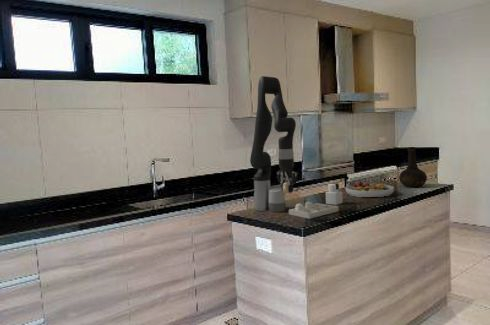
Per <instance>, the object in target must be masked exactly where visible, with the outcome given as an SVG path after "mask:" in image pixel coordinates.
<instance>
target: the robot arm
mask: <svg viewBox="0 0 490 325" xmlns="http://www.w3.org/2000/svg"><path fill="white" fill-rule="evenodd" d="M257 85H258V87H257V108H256V116H255V123H254V135H253V142H252V148H251V152H250V159H249V160H250V161H249V163H250V165H251V167H252V168H253V169H255V170H257V171H256V173H255V174H254V175H253V189H254V193H253V203H254V204H253V206H254V210H256V211H259V212H266V211H270V210H269V190H270V189H271V175H272V159H271V155H270V154H269V153H268V152H266V151H264V150H265V149H264V147H265V144H266V141H267V140H268V138H269V136H270V134H271V131H272V127H273V126H274V127H273V128H274V130H275V131H276V132H277V133H286V135H284V136H280V137H279V138H278V167H279V170H278V171H275V173H276V178H277V183H280V184H281V185H280V186H281V187H282V191H283V184H284V183H285V182H288V184H289V185H288V188H289V192H290V193H289V194H292V193H293V192H294V185H295V184H296V183H297V180H298V175H299V173H298V171H297V172H295V171H294V167H295V162H294V161H295V159H294V158H295V156H294V144H293V142H294V135H295V130H296V126H297V122H296V120H295V118H293V117H288V115H289V114H288V109H287V107H286V105H285V102H284V98H283V92H282V86H281V83H280V80H279V78H277V77H274V76H265V75H263V76H260V77H259V80H258V84H257ZM266 95H273V96H274V98H273V100H272V101H271V107H270V108H271V111H272V113H271V111H270V109H269V107H268V104H267V101H266ZM272 114H273V116H272ZM273 118H274V125H273ZM291 192H292V193H291Z"/></svg>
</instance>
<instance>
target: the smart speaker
mask: <svg viewBox="0 0 490 325" xmlns="http://www.w3.org/2000/svg"><path fill="white" fill-rule="evenodd" d="M286 206H287V205H286V198H285V193H283V191H282V187H281V185H277V186H273V187H270V190H269V210H268V211H270V212H271V213H281V212H284V211H286Z"/></svg>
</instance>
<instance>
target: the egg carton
mask: <svg viewBox="0 0 490 325" xmlns="http://www.w3.org/2000/svg"><path fill="white" fill-rule="evenodd" d="M312 204H313V208H311V209H307V208H305V205H303V206H304V210H302V211H296V210H295V207H294V208H289V209H288V215H291V216H295V217H301V218H305V219H313V218H317V217H321V216H324V215H325V216H326V215H330V214H332V213H337V212H339V211H340V210H339V206H337V205H332V204H326V203H325V204H324V203H318V202H317V203H312Z"/></svg>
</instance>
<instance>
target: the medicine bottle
mask: <svg viewBox="0 0 490 325" xmlns="http://www.w3.org/2000/svg"><path fill="white" fill-rule="evenodd" d="M327 186H328V191H325V204H326V205H332V206H337V205H340V204H343V192H342V190H340V184H339V183H338V182H337V183H336V182H334V183H333V182H331V183H328V185H327Z"/></svg>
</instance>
